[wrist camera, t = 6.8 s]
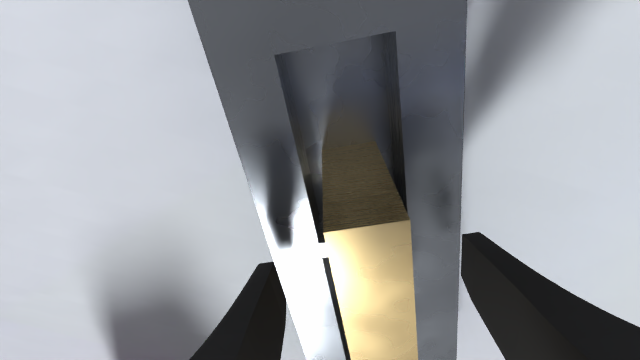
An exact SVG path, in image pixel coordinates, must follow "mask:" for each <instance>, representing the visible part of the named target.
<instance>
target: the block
mask: <svg viewBox="0 0 640 360" xmlns="http://www.w3.org/2000/svg"><path fill="white" fill-rule="evenodd" d="M188 2H189V5H190V8H191V11H192V15H193V18H194V21H195V24H196V27H197V30H198V33H199V36H200V39H201V42H202V45H203V48H204V51H205V54H206V57H207V60H208V63H209V66H210V69H211V72H212V75H213V78H214V81H215V84H216V87H217V90H218V93H219V96H220V99H221V102H222V105H223V108H224V111H225V114H226V117H227V121H228V124H229V127H230V130H231V133H232V136H233V139H234V142H235V145H236V148H237V151H238V154H239V157H240V160H241V163H242V166H243V169H244V172H245V175H246V178H247V181H248V184H249V187H250V190H251V193H252V196H253V199H254V202H255V205H256V208H257V211H258V214H259V217H260V220H261V223H262V227H263V230H264V233H265V236H266V239H267V242H268V245H269V248H270V251H271V254H272V257H273V260H274V263H275V266H276V269H277V272H278V275H279V278H280V281H281V284H282V287H283V290H284V293H285V296H286V299H287V302H288V305H289V308H290V311H291V314H292V317H293V320H294V323H295V326H296V329H297V333H298V336H299V339H300V342H301V345H302V348H303V351H304V354H305V357H306V360H351V358H350V353H349V348H348V344H347V339H346V335H345V330H344V325H343V321H342V316H341V312H340V307H339V302H338V298H337V293H336V289H335V284H334V279H333V275H332V270H331V266H330V261H329V256H328V252H327V247H326V243H325V238H324V233H323V189H322V150H326V149H332V148H337V147H343V146H349V145H355V144H361V143H367V142H373V141H376V144H377V146H378V148H379V150H380V153H381V155H382V157H383V159H384V162H385V164H386V166H387V168H388V171H389V173H390V175H391V178H392V180H393V182H394V184H395V187H396V189H397V191H398V193H399V196H400V198H401V200H402V202H403V205H404V207H405V209H406V211H407V214H408V216H409V218H410V223H411V241H412V259H413V277H414V295H415V313H416V330H417V348H418V360H456V356H457V322H458V288H459V254H460V220H461V187H462V153H463V119H464V85H465V51H466V18H467V0H188Z"/></svg>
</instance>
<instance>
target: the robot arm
mask: <svg viewBox="0 0 640 360" xmlns="http://www.w3.org/2000/svg"><path fill="white" fill-rule="evenodd" d="M461 276H462V279H463V281H464V283H465V286H466V288H467V291H468V293H469V295H470V298H471V300H472V302H473V304H474V305H475V307H476V309H477V311H478V313H479V314H480V316H481V318H482V320H483V321H484V323H485V325H486V327H487V328H488V330H489V332H490V334H491V335H492V337H493V339H494V340H495V342H496V344H497V346H498V347H499V349H500V351H501V353H502V354H503V356H504V358H505V360H640V327H638V326H635V325H633V324H631V323H629V322H627V321H625V320H623V319H620V318H618V317H616V316H614V315H612V314H610V313H608V312H606V311H604V310H602V309H600V308H598V307H596V306H594V305H592V304H591V303H589V302H587V301H585V300H583V299H581V298H579V297H577V296H576V295H574V294H572V293H570V292H569V291H567V290H565V289H563V288H562V287H560V286H558V285H557V284H555V283H553V282H552V281H550V280H548V279H547V278H545V277H544V276H542V275H540V274H539V273H537V272H536V271H534V270H533V269H531V268H530V267H528V266H527V265H525V264H524V263H522V262H521V261H519V260H518V259H516V258H515V257H514V256H512V255H511V254H509V253H508V252H506V251H505V250H504V249H502V248H501V247H499V246H498V245H497V244H495V243H494V242H492V241H491V240H490V239H488V238H487V237H486V236H484V235H483V234H481V233H480V232H476V233H469V234H462V261H461ZM285 324H286V296H285V293H284V290H283V287H282V284H281V281H280V278H279V275H278V272H277V269H276V266H275V263H274V262H268V263H261V264H259V265H258V266H257V267H256V269H255V271H254V272H253V274H252V275H251V277H250V279H249V280H248V282H247V283H246V285H245V287H244V288H243V290H242V291H241V293H240V294H239V296H238V297H237V299H236V300H235V302H234V303H233V305H232V306H231V308H230V309H229V311H228V312H227V313H226V315H225V316H224V317H223V319H222V320H221V322H220V323H219V324H218V326H217V327H216V328H215V330H214V331H213V332H212V334H211V335H210V336H209V337H208V339H207V340H206V341H205V342H204V343H203V345H202V346H201V347H200V348H199V349H198V351H197V352H196V353H195V354H194V355H193V356H192V357H191V359H190V360H280V359H281V352H282V345H283V338H284V331H285Z"/></svg>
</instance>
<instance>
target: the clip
mask: <svg viewBox="0 0 640 360" xmlns="http://www.w3.org/2000/svg"><path fill="white" fill-rule="evenodd" d="M322 189H323V233H324V238H325V243H326V247H327V252H328V256H329V261H330V266H331V270H332V275H333V279H334V284H335V289H336V293H337V298H338V302H339V307H340V312H341V316H342V321H343V325H344V330H345V335H346V339H347V344H348V348H349V353H350V358H351V360H418V348H417V330H416V313H415V295H414V277H413V259H412V241H411V223H410V218H409V216H408V214H407V211H406V209H405V207H404V205H403V202H402V200H401V198H400V196H399V193H398V191H397V189H396V187H395V184H394V182H393V180H392V178H391V175H390V173H389V171H388V168H387V166H386V164H385V162H384V159H383V157H382V155H381V153H380V150H379V148H378V146H377V144H376V141H373V142H367V143H361V144H355V145H349V146H343V147H337V148H332V149H326V150H322Z"/></svg>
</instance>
